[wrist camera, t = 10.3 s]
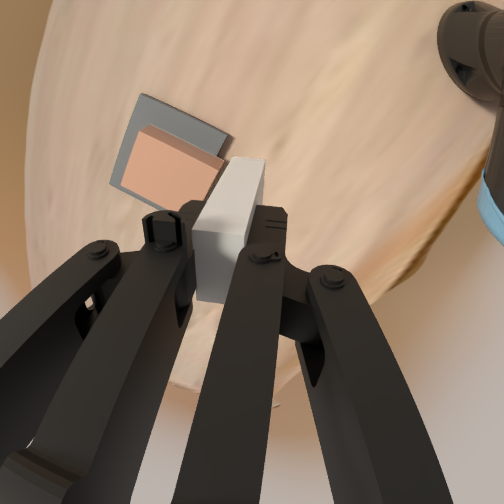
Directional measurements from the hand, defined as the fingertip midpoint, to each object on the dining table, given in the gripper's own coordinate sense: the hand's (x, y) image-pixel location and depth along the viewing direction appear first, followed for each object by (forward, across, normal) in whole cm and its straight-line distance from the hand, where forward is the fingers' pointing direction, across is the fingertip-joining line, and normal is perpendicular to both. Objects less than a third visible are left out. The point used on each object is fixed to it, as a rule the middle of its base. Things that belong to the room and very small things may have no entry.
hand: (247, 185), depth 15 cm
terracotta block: (+27, -9, -13) cm, 31 cm away
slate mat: (+29, -16, -10) cm, 35 cm away
